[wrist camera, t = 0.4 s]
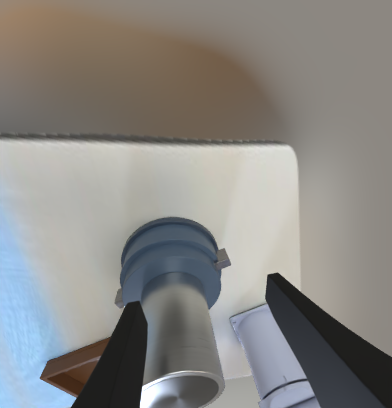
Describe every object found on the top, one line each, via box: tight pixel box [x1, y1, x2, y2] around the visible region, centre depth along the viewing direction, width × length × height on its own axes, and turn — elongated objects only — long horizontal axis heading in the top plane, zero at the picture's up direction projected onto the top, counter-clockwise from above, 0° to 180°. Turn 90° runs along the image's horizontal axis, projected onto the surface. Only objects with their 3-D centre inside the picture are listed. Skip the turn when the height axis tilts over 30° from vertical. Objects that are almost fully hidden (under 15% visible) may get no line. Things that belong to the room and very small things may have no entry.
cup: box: [140, 272, 225, 408], centre depth 14 cm, size 6×6×7 cm
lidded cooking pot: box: [115, 217, 231, 309], centre depth 19 cm, size 11×12×5 cm
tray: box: [40, 337, 111, 398], centre depth 29 cm, size 15×13×2 cm
